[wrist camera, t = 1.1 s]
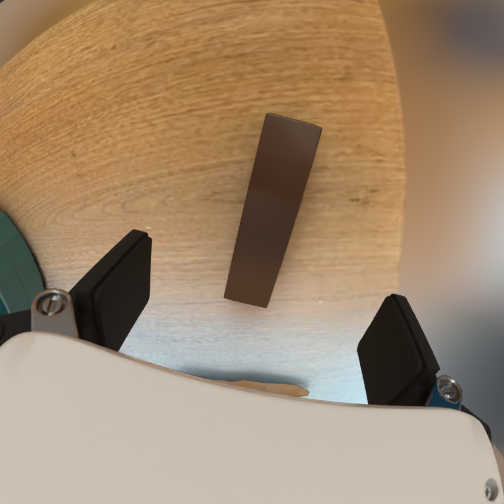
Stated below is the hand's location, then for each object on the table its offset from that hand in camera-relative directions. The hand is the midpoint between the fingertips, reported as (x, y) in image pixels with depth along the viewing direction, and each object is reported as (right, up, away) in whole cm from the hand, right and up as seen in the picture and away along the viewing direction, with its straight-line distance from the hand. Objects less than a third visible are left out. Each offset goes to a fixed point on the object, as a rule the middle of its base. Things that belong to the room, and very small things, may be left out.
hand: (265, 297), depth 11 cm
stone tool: (-2, -12, +18) cm, 22 cm away
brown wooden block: (+1, +5, +9) cm, 10 cm away
